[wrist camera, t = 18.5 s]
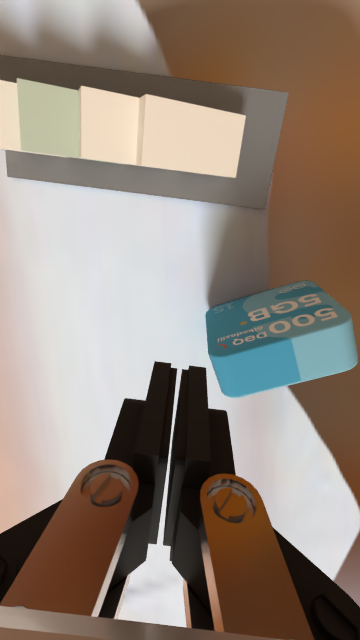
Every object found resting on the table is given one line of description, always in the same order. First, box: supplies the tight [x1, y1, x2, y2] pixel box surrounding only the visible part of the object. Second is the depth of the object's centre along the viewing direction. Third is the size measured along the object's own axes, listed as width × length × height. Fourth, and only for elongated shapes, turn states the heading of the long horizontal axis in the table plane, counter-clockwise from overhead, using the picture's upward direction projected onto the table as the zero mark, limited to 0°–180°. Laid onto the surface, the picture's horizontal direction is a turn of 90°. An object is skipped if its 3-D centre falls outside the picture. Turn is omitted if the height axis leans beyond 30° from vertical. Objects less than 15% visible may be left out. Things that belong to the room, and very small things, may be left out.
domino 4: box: [136, 94, 246, 178], centre depth 29 cm, size 2×5×9 cm
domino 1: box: [0, 80, 65, 157], centre depth 29 cm, size 2×5×9 cm
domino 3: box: [79, 86, 169, 170], centre depth 29 cm, size 2×5×9 cm
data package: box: [206, 281, 358, 398], centre depth 33 cm, size 12×4×12 cm, turn 109°
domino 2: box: [17, 78, 122, 164], centre depth 29 cm, size 2×5×9 cm
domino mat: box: [0, 55, 288, 209], centre depth 32 cm, size 26×10×1 cm, turn 83°
